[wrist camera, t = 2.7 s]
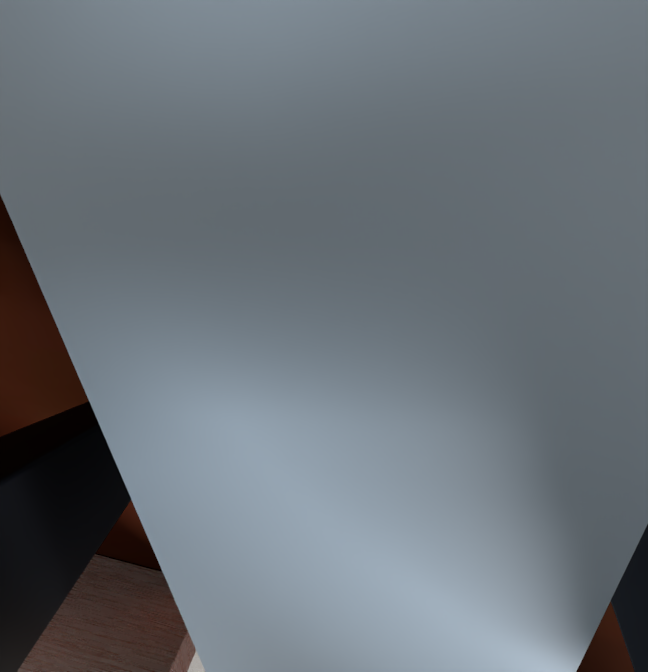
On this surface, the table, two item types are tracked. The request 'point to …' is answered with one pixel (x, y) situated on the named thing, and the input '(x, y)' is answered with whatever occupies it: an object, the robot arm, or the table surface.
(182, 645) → the l-shaped bookend
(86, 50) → the light blue rectangular block
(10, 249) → the table surface
